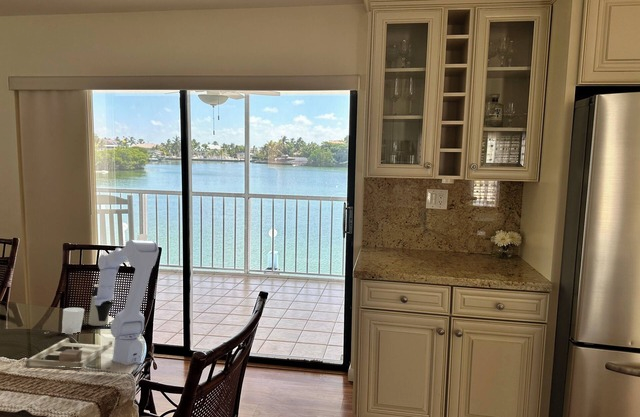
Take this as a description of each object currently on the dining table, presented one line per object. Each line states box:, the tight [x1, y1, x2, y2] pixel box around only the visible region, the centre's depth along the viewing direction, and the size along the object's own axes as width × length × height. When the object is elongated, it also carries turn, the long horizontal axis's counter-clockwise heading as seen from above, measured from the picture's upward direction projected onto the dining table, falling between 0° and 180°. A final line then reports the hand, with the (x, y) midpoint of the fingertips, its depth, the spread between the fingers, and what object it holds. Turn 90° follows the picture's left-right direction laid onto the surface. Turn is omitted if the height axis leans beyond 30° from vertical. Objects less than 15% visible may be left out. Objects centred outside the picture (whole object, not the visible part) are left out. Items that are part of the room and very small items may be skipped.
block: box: [58, 348, 82, 362], centre depth 144 cm, size 5×5×4 cm
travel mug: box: [88, 283, 111, 327], centre depth 201 cm, size 8×8×18 cm
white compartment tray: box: [25, 337, 113, 368], centre depth 153 cm, size 27×17×3 cm, turn 6°
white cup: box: [61, 307, 85, 335], centre depth 183 cm, size 8×8×10 cm
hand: (102, 320), depth 167 cm, fingers closed
